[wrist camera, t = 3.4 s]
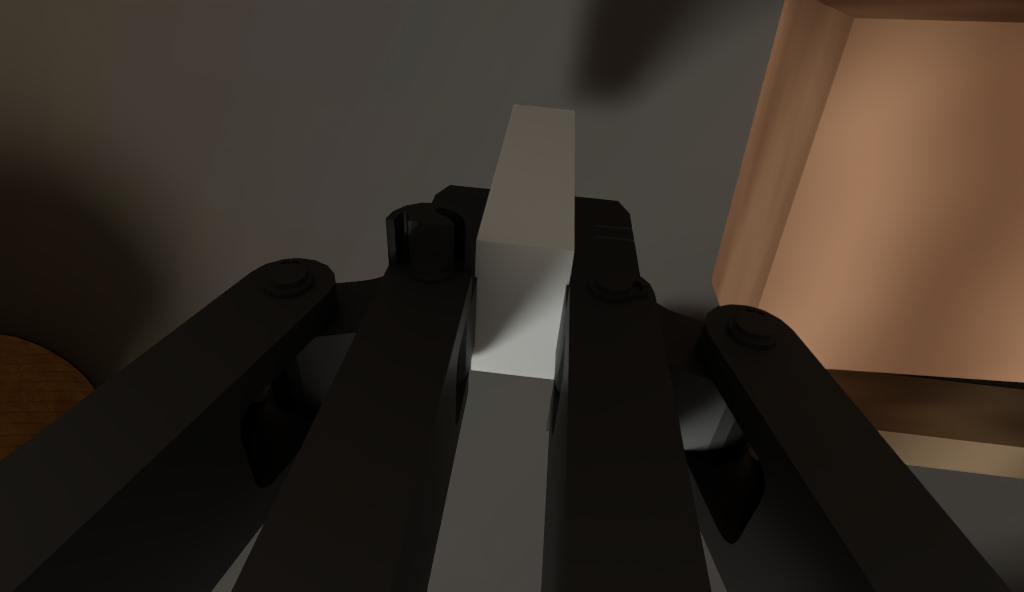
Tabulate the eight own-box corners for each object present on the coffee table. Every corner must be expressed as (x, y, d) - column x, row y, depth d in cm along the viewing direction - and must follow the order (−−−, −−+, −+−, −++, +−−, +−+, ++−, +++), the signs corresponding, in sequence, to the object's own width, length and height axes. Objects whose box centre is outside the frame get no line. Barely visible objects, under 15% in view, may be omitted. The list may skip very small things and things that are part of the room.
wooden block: (1159, -5, 14) (1366, 31, 10) (979, 291, 19) (1073, 385, 16) (784, -14, 15) (854, 18, 11) (709, 276, 20) (739, 362, 16)
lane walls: (1732, -249, 11) (2073, -289, 8) (1070, 425, 22) (1132, 491, 19) (771, -322, 11) (825, -380, 9) (607, 370, 22) (611, 428, 20)
